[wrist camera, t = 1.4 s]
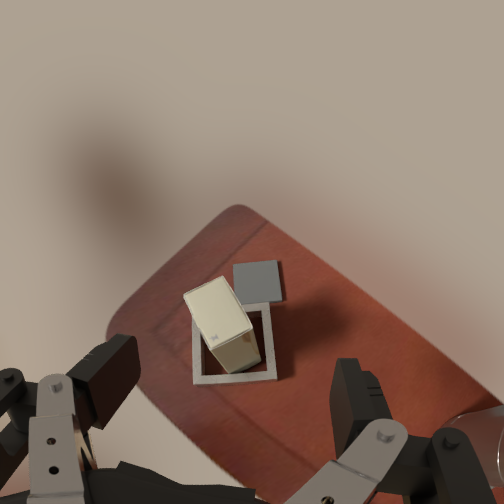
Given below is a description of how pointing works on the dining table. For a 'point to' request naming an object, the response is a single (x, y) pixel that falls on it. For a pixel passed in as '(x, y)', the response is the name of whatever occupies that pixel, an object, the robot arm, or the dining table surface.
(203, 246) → the dining table surface
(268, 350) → the grey square frame
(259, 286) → the pad
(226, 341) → the skincare box
